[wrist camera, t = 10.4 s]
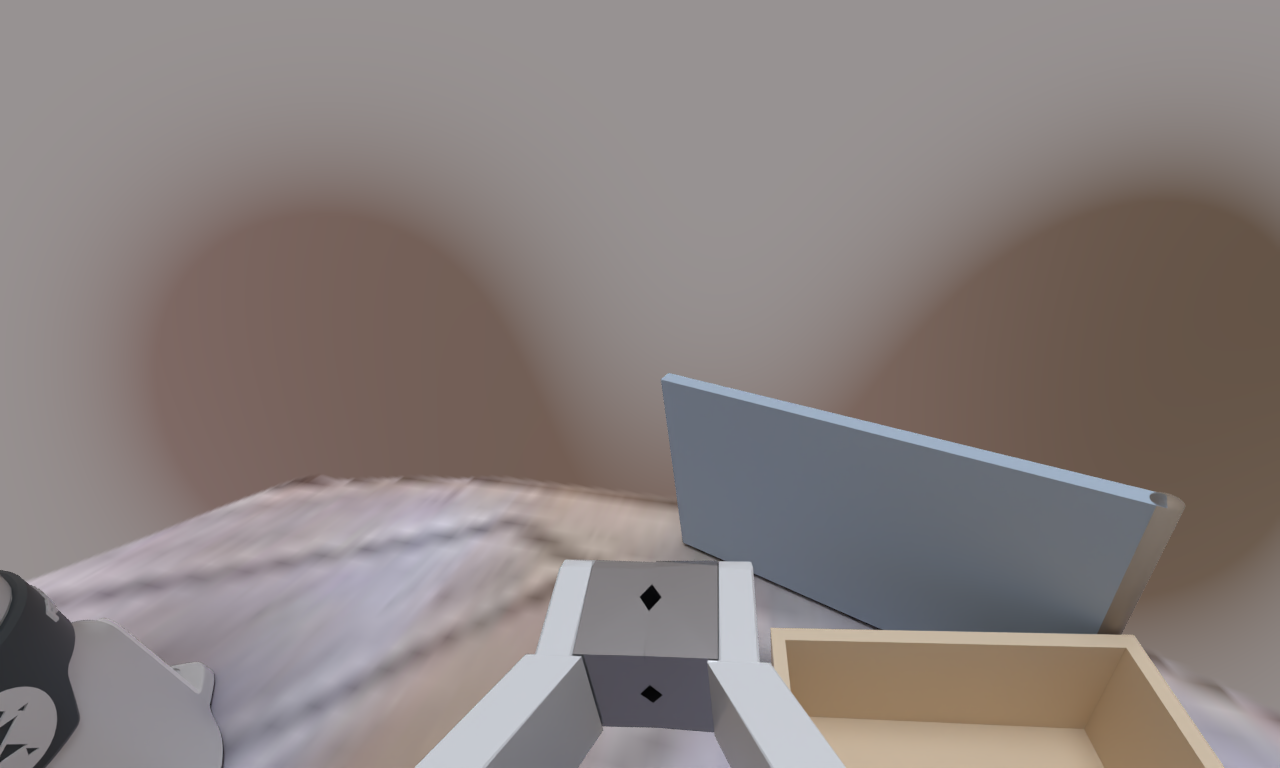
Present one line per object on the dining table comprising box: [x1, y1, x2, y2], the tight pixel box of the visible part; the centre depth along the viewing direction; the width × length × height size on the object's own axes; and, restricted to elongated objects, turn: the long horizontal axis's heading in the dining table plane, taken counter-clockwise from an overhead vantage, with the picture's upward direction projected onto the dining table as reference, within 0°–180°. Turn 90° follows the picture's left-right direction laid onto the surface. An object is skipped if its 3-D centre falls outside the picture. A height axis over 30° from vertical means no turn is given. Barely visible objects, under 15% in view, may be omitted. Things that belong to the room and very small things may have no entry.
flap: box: [661, 373, 1185, 635], centre depth 31 cm, size 23×1×14 cm, turn 54°
